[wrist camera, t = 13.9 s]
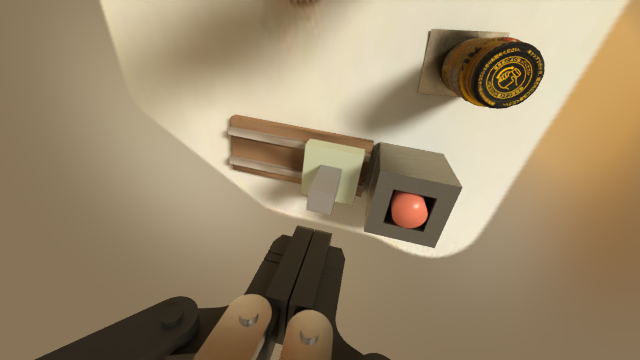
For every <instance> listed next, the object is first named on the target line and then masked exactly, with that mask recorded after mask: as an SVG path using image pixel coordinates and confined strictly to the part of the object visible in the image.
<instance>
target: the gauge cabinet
mask: <svg viewBox="0 0 640 360" xmlns="http://www.w3.org/2000/svg"><path fill="white" fill-rule="evenodd" d="M393 189H394V190H399V191H404V192H409V193H413V194H418V195H423V198H424V201H425V205H426V208H427V213H428V215H427V219H426V221H425V222H424V223H423V224H422V225H420V226H418V227H415V228H404V227H401V226H399V225H398V224H396V223H395V222H394V220H393V218H392V209H391V196H392V192H393ZM461 189H462V186H461V184H460V182H459V181H458V179H457V177H456V175H455V174H454V172H453V170H452V168H451V167H450V165H449V163H448V162H447V160H446V158H445V156H444V155H443V154H440V153H435V152H430V151H424V150H419V149H414V148H409V147H403V146H398V145H393V144H388V143H382V142H380V146H379V150H378V154H377V158H376V162H375V166H374V170H373V173H372V177H371V181H370V185H369V189H368V193H367V204H366V215H365V226H364V232H368V233H372V234H377V235H381V236H385V237H389V238H394V239H398V240H402V241H406V242H411V243H415V244H419V245H424V246H428V247H432V248H435V246H436V244H437V242H438V239H439V237H440V235H441V233H442V231H443V229H444V226H445V224H446V222H447V220H448V218H449V215H450V213H451V211H452V209H453V207H454V205H455V202H456V200H457V198H458V196H459V194H460V192H461Z"/></svg>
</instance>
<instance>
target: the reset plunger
mask: <svg viewBox="0 0 640 360" xmlns="http://www.w3.org/2000/svg"><path fill="white" fill-rule="evenodd" d="M391 209H392V218H393V220H394V222H395V223H396V224H398V225H399V226H401V227H404V228H415V227H418V226H420V225H422V224H423V223H424V222H425V221H426V219H427V215H428V213H427V208H426V205H425V201H424V198H423V195H418V194H413V193H409V192H404V191H399V190H394V189H393V192H392V196H391Z"/></svg>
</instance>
